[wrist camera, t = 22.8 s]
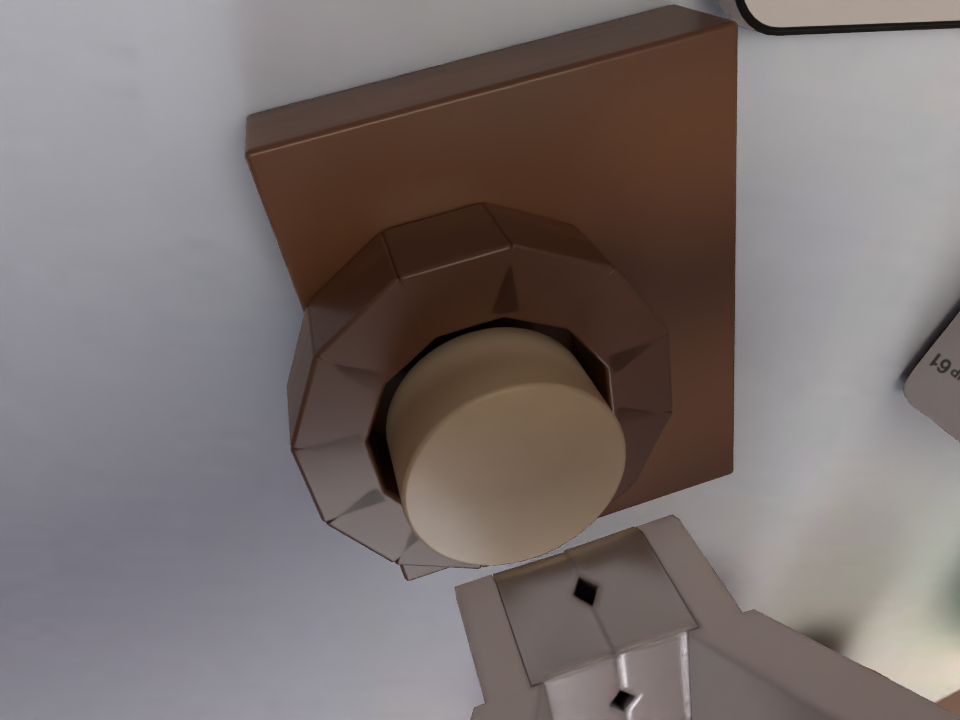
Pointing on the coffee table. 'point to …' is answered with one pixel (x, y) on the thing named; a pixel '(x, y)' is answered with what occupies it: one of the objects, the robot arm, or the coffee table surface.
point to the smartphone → (841, 15)
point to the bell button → (502, 447)
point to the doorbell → (514, 247)
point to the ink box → (939, 381)
